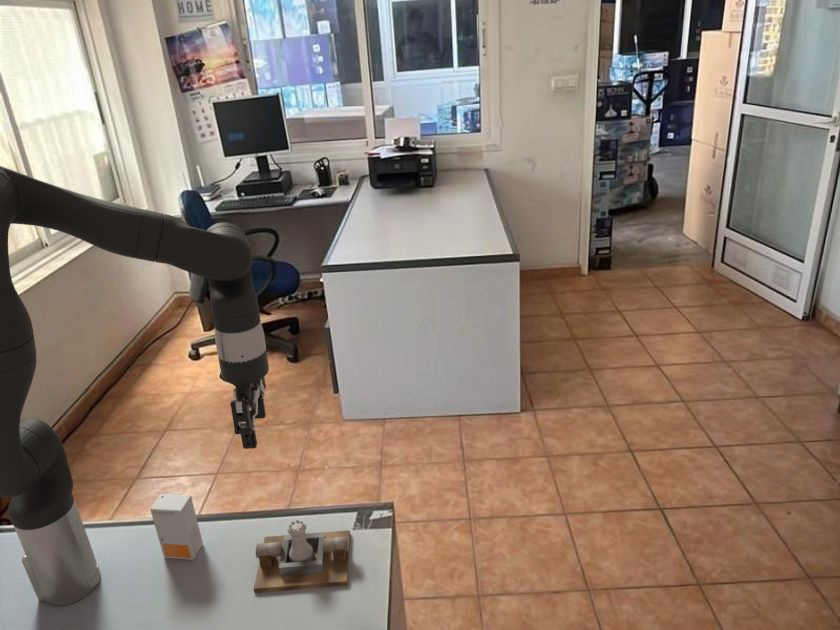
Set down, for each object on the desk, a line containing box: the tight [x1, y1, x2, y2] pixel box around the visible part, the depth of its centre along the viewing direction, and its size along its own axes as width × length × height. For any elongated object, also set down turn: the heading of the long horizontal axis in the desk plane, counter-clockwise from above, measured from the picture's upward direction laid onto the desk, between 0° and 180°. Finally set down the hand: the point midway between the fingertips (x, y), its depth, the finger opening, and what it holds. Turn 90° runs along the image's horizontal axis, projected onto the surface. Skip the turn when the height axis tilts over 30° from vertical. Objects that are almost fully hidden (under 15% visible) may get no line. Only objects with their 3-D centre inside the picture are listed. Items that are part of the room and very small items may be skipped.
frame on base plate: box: [253, 529, 351, 594], centre depth 115 cm, size 16×12×5 cm
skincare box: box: [150, 493, 203, 561], centre depth 118 cm, size 6×4×12 cm
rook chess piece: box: [287, 519, 314, 562], centre depth 114 cm, size 4×4×8 cm
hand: (255, 431), depth 110 cm, fingers open, 8 cm apart
